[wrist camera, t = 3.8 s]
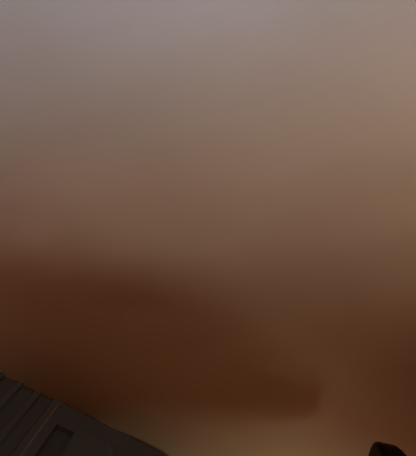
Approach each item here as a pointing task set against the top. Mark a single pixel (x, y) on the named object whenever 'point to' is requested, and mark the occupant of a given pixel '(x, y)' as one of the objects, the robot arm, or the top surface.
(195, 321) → the top surface
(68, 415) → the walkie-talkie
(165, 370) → the top surface
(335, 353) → the top surface
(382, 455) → the robot arm
